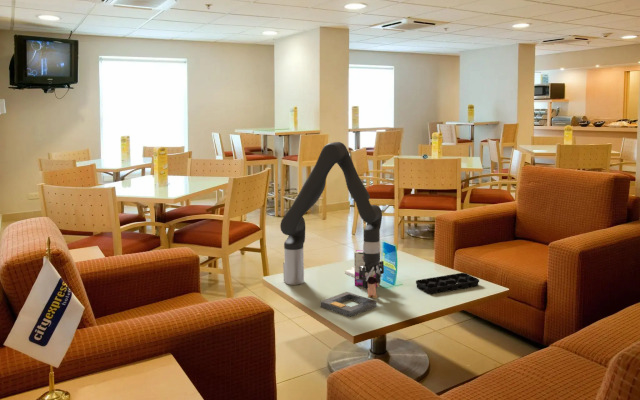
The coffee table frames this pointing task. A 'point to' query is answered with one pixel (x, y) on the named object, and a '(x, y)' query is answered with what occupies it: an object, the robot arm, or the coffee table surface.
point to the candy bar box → (359, 263)
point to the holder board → (337, 307)
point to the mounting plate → (351, 272)
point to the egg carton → (447, 283)
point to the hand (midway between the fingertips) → (371, 286)
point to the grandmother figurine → (372, 285)
